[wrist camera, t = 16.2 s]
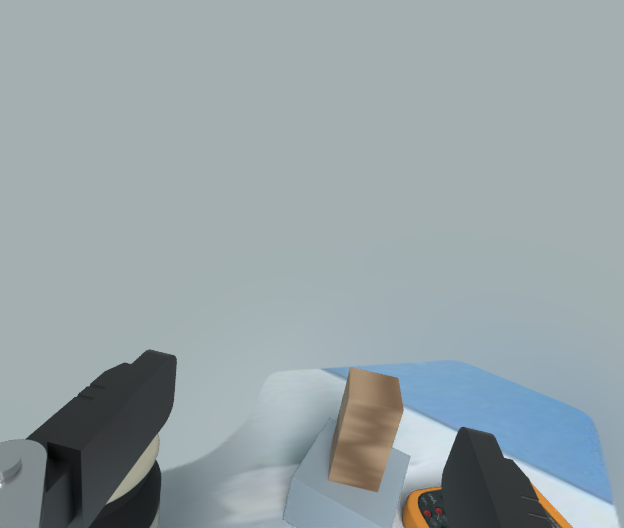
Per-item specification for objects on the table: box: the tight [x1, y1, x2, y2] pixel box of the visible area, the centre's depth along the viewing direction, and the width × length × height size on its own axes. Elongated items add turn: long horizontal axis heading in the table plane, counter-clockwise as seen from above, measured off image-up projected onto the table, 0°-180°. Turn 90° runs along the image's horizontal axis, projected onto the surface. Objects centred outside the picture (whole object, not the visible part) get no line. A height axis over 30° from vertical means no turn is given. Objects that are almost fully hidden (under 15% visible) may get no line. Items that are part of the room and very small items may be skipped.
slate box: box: [283, 418, 410, 528], centre depth 40 cm, size 10×10×6 cm
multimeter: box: [403, 483, 573, 528], centre depth 41 cm, size 9×18×3 cm, turn 108°
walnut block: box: [328, 367, 404, 493], centre depth 38 cm, size 5×5×10 cm
